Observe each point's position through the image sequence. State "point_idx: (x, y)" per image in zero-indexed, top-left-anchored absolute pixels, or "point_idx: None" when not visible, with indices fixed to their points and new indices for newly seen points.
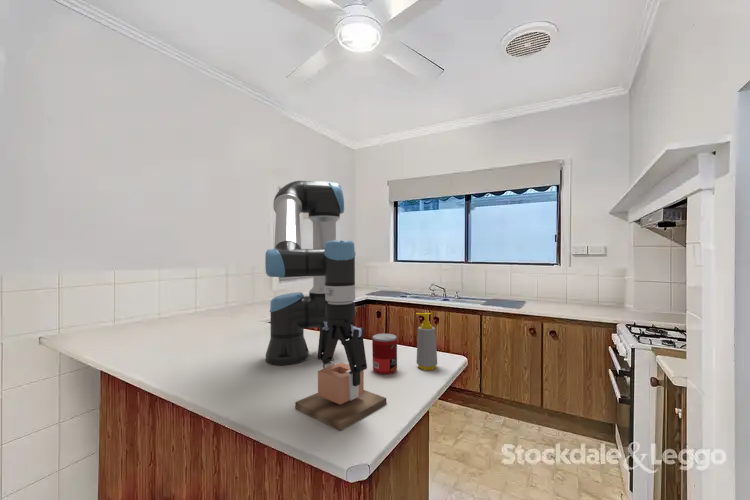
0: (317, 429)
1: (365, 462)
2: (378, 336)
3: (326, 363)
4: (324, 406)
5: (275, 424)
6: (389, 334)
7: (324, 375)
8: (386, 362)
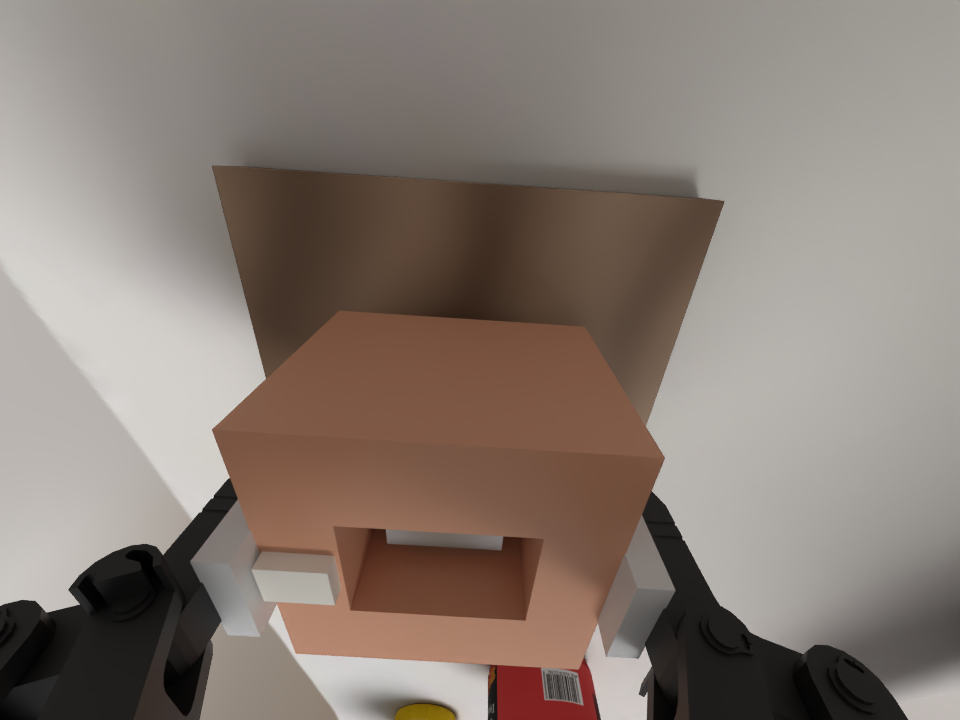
0: (356, 77)
1: None
2: None
3: (664, 613)
4: (483, 281)
5: None
6: None
7: (523, 428)
8: (508, 713)
